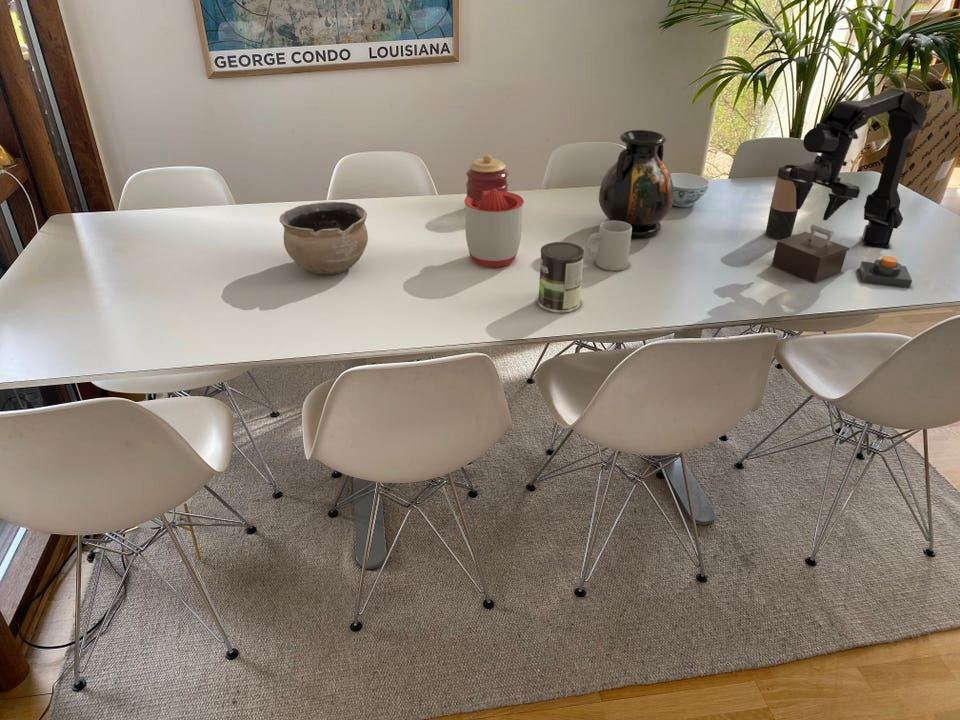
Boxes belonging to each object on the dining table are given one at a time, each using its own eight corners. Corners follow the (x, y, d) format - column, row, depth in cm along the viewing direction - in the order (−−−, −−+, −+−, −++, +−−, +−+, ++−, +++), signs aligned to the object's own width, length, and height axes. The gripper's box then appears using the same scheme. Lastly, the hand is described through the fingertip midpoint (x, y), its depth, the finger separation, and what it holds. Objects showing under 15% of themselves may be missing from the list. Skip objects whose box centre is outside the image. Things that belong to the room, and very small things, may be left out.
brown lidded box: (797, 255, 215) (803, 234, 212) (840, 272, 206) (846, 251, 202) (771, 265, 210) (776, 243, 206) (814, 283, 200) (820, 260, 197)
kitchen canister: (514, 207, 245) (516, 152, 236) (493, 220, 236) (494, 163, 227) (480, 199, 251) (480, 145, 242) (458, 211, 242) (457, 156, 233)
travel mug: (793, 241, 224) (809, 173, 214) (766, 238, 225) (780, 171, 215) (789, 231, 230) (805, 165, 220) (763, 229, 232) (777, 163, 221)
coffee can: (541, 313, 184) (544, 259, 177) (535, 294, 193) (537, 242, 186) (583, 312, 185) (588, 258, 178) (575, 293, 194) (579, 241, 187)
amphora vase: (637, 249, 218) (649, 151, 203) (581, 227, 232) (588, 133, 217) (683, 230, 230) (698, 136, 215) (627, 211, 244) (637, 121, 229)
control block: (903, 273, 206) (907, 259, 204) (909, 288, 198) (914, 273, 196) (859, 268, 208) (863, 255, 206) (863, 282, 201) (867, 268, 199)
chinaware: (710, 212, 244) (714, 188, 240) (662, 211, 244) (666, 187, 240) (699, 196, 256) (703, 173, 252) (654, 195, 256) (657, 172, 252)
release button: (893, 263, 202) (896, 257, 201) (896, 269, 199) (898, 262, 198) (879, 261, 203) (881, 255, 202) (881, 267, 200) (883, 260, 199)
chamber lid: (804, 233, 212) (809, 216, 210) (848, 250, 203) (853, 232, 200) (776, 243, 206) (780, 226, 204) (820, 260, 197) (824, 242, 194)
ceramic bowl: (299, 291, 193) (292, 235, 185) (276, 259, 210) (269, 207, 202) (382, 275, 202) (379, 220, 194) (354, 245, 219) (350, 194, 211)
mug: (620, 256, 213) (624, 219, 208) (632, 269, 206) (637, 230, 201) (579, 260, 211) (582, 222, 205) (590, 273, 204) (594, 234, 198)
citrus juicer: (488, 241, 222) (489, 173, 211) (533, 260, 211) (536, 189, 201) (448, 257, 212) (447, 186, 202) (493, 276, 202) (494, 203, 191)
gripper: (784, 142, 198) (763, 201, 204) (841, 161, 183) (817, 224, 190) (813, 146, 203) (792, 204, 210) (872, 165, 189) (847, 226, 195)
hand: (810, 214), depth 201 cm, fingers open, 9 cm apart
